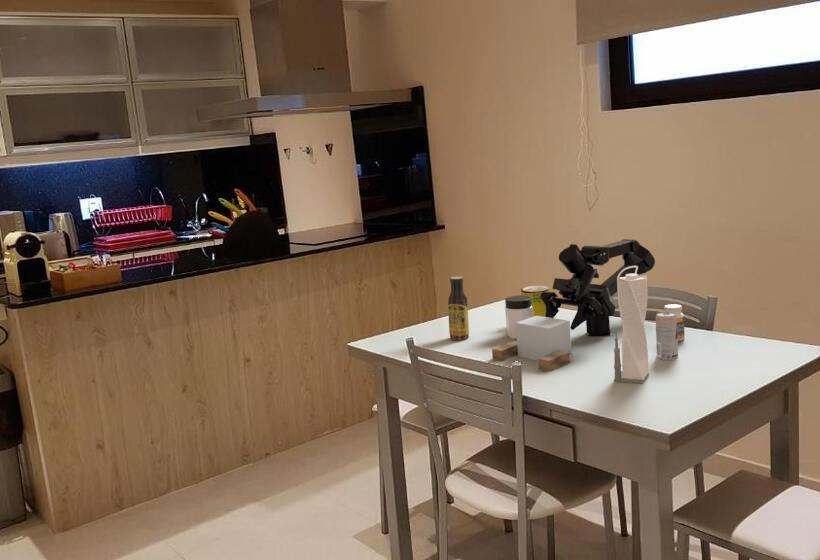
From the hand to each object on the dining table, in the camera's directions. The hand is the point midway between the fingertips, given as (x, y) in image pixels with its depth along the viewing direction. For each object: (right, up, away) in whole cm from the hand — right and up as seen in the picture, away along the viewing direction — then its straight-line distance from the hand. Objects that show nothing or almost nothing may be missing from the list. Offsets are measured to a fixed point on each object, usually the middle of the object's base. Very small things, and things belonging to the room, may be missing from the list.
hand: (558, 327), depth 218 cm
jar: (-8, -4, +20) cm, 22 cm away
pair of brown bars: (-9, -9, -7) cm, 14 cm away
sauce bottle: (-27, -5, +23) cm, 36 cm away
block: (-5, -8, -3) cm, 10 cm away
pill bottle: (+33, -4, 0) cm, 34 cm away
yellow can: (-1, -1, +31) cm, 31 cm away
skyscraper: (+14, -11, -28) cm, 33 cm away
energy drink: (+26, -7, -15) cm, 31 cm away
